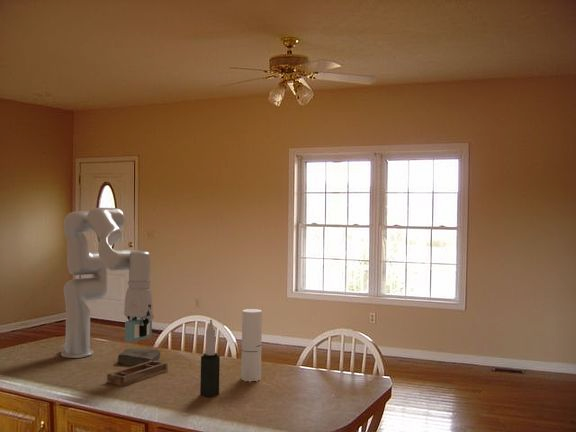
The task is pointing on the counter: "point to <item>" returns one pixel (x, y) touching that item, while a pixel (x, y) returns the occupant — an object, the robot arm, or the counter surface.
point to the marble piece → (138, 356)
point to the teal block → (136, 330)
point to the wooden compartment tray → (137, 373)
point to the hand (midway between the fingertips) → (138, 334)
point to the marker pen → (210, 366)
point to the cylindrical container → (251, 344)
